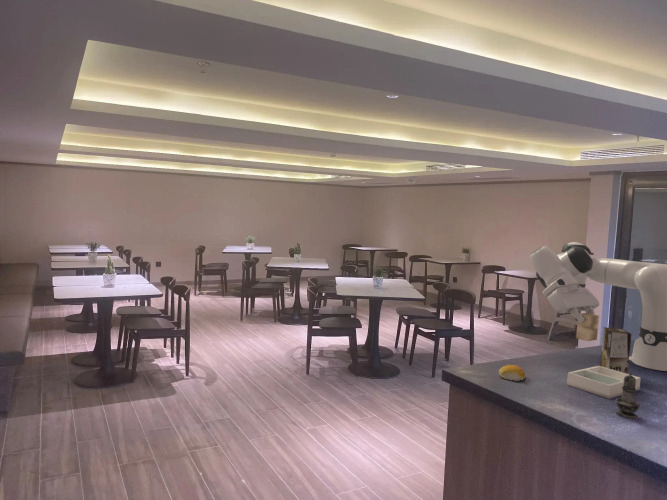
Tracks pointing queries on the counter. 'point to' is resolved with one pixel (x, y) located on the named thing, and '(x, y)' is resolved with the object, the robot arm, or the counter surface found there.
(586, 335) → the maple block
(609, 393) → the caddy
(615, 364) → the coffee box
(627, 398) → the dark grey upright piece
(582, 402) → the counter surface
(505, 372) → the bread roll
